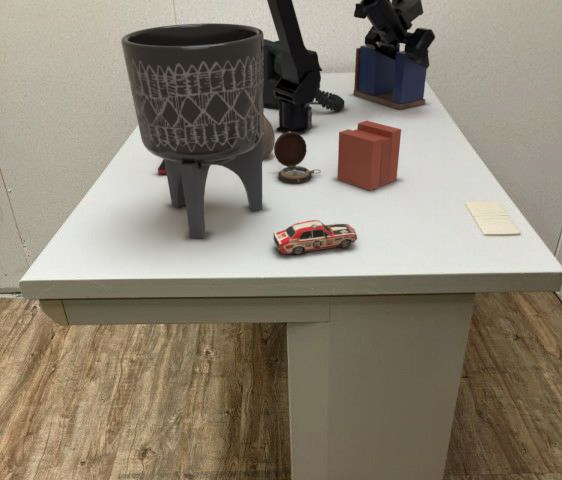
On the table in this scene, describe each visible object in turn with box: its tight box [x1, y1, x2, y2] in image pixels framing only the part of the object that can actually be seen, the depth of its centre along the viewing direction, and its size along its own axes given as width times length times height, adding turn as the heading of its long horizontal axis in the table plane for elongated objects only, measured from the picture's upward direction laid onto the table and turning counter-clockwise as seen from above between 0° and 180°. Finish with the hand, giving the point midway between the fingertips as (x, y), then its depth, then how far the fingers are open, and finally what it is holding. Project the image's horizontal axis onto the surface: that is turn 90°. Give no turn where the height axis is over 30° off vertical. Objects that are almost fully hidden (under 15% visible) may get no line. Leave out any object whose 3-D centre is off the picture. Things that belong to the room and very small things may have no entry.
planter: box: [120, 22, 265, 239], centre depth 91 cm, size 20×20×26 cm
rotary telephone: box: [264, 38, 345, 112], centre depth 153 cm, size 33×22×15 cm, turn 58°
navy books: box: [358, 43, 401, 96], centre depth 155 cm, size 8×6×11 cm
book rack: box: [352, 47, 426, 110], centre depth 152 cm, size 8×18×11 cm, turn 32°
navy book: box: [392, 49, 430, 104], centre depth 147 cm, size 8×3×11 cm, turn 122°
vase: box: [262, 114, 276, 160], centre depth 120 cm, size 7×7×9 cm
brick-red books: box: [337, 120, 402, 192], centre depth 108 cm, size 8×7×9 cm
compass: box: [273, 131, 322, 184], centre depth 111 cm, size 8×8×7 cm
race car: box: [272, 219, 358, 256], centre depth 88 cm, size 5×12×5 cm, turn 99°
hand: (414, 64), depth 146 cm, fingers open, 9 cm apart
